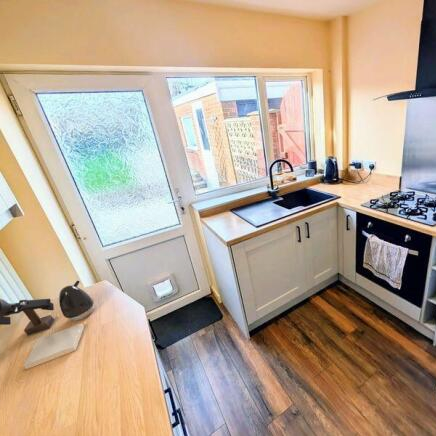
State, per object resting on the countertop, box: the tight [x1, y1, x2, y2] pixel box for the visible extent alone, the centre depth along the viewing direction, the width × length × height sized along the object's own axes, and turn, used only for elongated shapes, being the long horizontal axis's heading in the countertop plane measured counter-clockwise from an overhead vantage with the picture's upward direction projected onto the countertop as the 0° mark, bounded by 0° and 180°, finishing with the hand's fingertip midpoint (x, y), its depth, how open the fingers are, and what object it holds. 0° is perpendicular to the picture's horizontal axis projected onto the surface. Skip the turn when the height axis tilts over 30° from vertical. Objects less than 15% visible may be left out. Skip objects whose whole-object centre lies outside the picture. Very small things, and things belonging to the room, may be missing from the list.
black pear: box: [58, 280, 95, 321], centre depth 102 cm, size 10×10×15 cm
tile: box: [22, 323, 85, 370], centre depth 91 cm, size 14×12×2 cm
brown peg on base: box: [22, 309, 55, 337], centre depth 98 cm, size 7×5×14 cm
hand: (31, 313), depth 98 cm, fingers open, 13 cm apart
